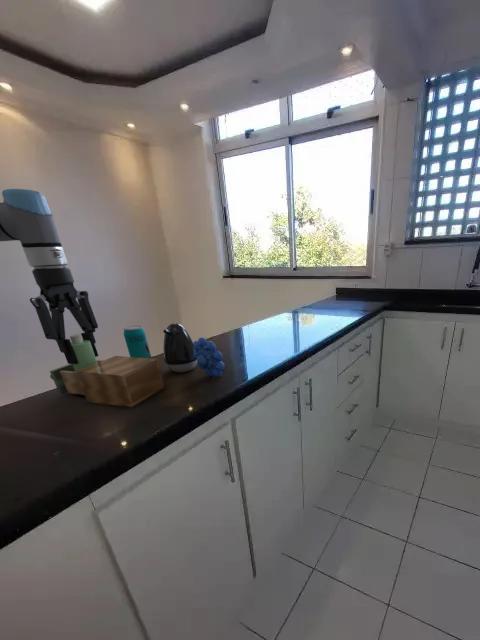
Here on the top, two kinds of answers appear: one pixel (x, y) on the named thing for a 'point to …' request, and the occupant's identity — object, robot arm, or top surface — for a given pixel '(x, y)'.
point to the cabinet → (121, 380)
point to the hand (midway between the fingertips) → (83, 359)
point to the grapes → (208, 357)
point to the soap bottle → (82, 352)
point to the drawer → (67, 379)
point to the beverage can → (136, 342)
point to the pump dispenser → (178, 349)
